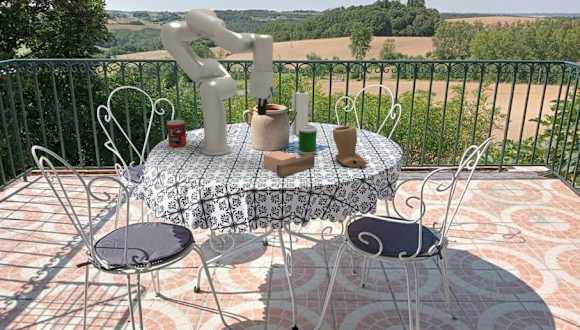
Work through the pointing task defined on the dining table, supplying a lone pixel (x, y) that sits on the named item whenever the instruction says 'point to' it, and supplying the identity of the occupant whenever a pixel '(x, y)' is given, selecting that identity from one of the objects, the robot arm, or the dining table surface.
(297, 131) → the paper towel roll
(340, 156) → the tan boot-shaped piece
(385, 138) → the dining table surface
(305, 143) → the soda can
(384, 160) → the dining table surface
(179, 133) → the canned food
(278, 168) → the board
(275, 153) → the brick
